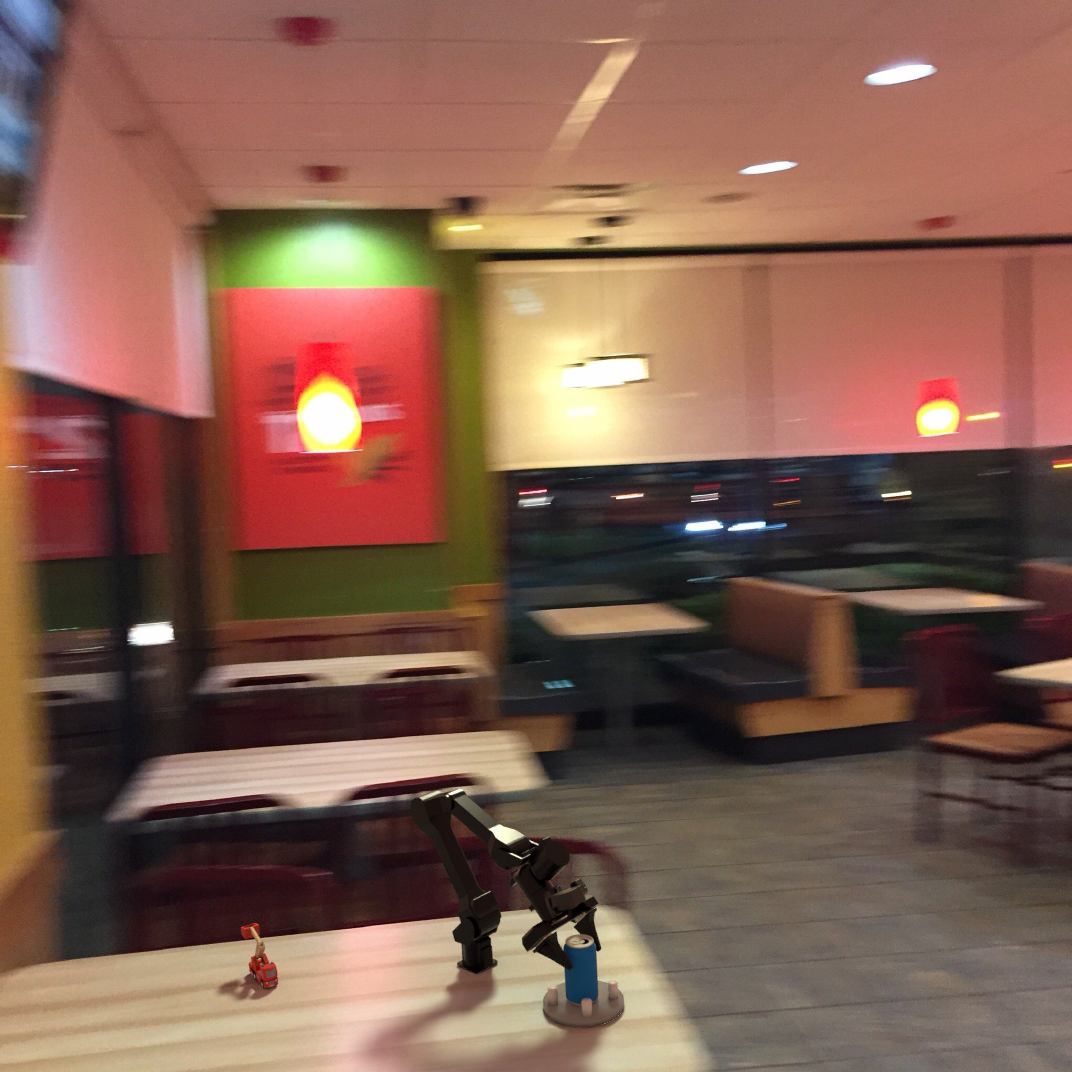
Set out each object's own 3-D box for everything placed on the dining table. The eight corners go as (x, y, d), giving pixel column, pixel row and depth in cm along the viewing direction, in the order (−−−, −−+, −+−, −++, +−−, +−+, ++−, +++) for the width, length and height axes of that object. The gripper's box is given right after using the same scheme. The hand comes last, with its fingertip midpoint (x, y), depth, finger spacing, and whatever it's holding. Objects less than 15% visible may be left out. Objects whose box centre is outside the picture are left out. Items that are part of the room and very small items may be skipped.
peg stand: (526, 1010, 205) (525, 990, 205) (576, 977, 217) (575, 957, 217) (591, 1036, 195) (590, 1015, 194) (640, 1000, 207) (639, 980, 207)
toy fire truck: (264, 991, 218) (261, 946, 217) (243, 966, 229) (240, 924, 229) (280, 986, 220) (277, 942, 219) (258, 962, 231) (254, 920, 231)
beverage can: (602, 1004, 204) (600, 945, 203) (571, 1010, 202) (568, 950, 201) (593, 988, 210) (590, 931, 209) (562, 994, 208) (559, 936, 208)
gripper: (530, 887, 200) (577, 958, 193) (589, 855, 214) (635, 921, 207) (501, 916, 205) (547, 986, 199) (561, 884, 220) (605, 948, 213)
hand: (585, 959), depth 205 cm, fingers open, 9 cm apart
